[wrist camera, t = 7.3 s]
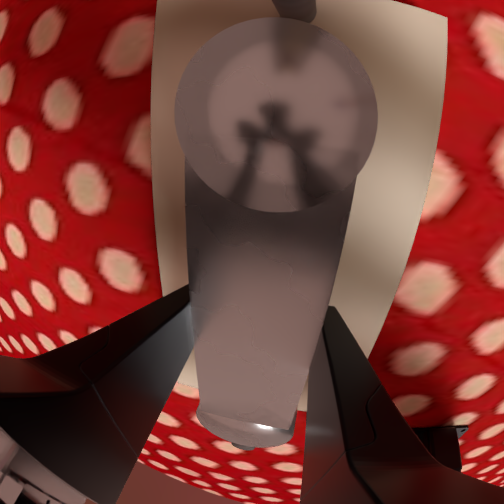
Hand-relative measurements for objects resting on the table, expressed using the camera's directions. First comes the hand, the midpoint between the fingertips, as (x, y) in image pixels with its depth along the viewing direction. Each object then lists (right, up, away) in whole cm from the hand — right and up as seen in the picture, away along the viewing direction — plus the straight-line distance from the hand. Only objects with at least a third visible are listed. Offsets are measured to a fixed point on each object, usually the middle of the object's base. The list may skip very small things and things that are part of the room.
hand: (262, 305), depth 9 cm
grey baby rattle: (0, +1, +1) cm, 1 cm away
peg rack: (+1, +2, +4) cm, 4 cm away
